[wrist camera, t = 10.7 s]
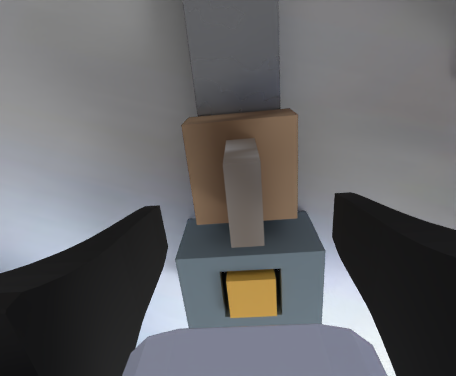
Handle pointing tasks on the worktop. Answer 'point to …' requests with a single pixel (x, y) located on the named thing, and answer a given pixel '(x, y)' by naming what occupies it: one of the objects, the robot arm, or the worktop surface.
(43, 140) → the worktop surface
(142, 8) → the worktop surface
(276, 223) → the blue grey control box
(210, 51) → the rail
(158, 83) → the worktop surface
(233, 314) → the button
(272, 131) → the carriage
